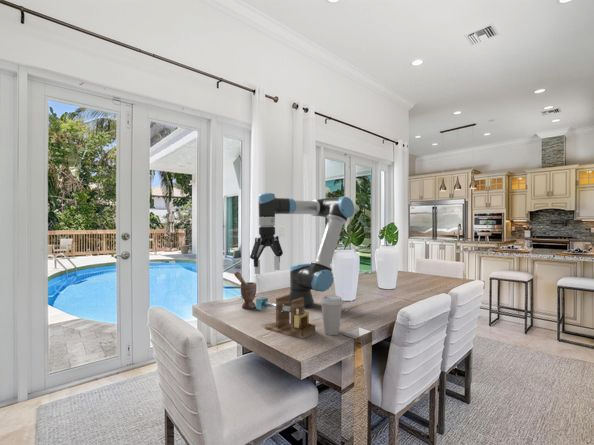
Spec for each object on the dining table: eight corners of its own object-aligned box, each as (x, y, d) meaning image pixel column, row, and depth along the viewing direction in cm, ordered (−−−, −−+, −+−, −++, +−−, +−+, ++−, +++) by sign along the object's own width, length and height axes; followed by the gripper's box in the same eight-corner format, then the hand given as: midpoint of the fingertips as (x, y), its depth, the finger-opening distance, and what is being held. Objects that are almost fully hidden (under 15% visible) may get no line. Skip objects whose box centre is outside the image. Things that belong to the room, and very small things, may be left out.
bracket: (265, 328, 137) (265, 296, 137) (279, 322, 145) (279, 292, 145) (302, 338, 125) (302, 304, 125) (315, 331, 133) (315, 299, 133)
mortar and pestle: (240, 311, 162) (240, 273, 162) (232, 307, 169) (232, 271, 169) (259, 307, 169) (259, 271, 169) (251, 304, 176) (251, 269, 176)
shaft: (256, 308, 144) (256, 298, 144) (262, 306, 147) (263, 297, 147) (290, 317, 132) (290, 306, 132) (297, 314, 136) (297, 303, 135)
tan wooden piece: (294, 332, 129) (294, 315, 129) (304, 327, 135) (304, 310, 135) (298, 334, 128) (298, 316, 128) (308, 329, 134) (308, 311, 134)
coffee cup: (318, 328, 137) (318, 294, 137) (340, 328, 138) (340, 294, 138) (322, 336, 127) (322, 300, 127) (345, 336, 128) (345, 300, 128)
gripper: (253, 227, 133) (254, 276, 133) (289, 225, 153) (290, 268, 153) (241, 227, 137) (242, 275, 138) (278, 225, 157) (278, 267, 158)
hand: (267, 271), depth 146 cm, fingers open, 13 cm apart
